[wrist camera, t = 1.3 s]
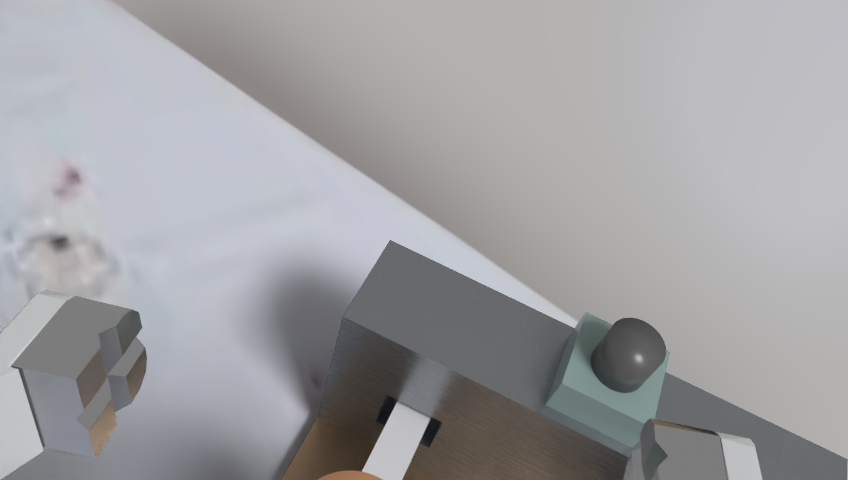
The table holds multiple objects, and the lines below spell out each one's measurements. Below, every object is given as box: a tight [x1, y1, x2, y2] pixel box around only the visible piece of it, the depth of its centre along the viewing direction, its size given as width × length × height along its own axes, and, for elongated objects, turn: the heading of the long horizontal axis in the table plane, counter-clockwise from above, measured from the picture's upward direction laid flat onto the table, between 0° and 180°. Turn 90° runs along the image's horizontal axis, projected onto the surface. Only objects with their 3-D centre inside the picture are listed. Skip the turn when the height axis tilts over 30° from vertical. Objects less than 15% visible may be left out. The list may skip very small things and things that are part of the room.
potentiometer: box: [546, 313, 670, 447], centre depth 32 cm, size 4×4×4 cm
